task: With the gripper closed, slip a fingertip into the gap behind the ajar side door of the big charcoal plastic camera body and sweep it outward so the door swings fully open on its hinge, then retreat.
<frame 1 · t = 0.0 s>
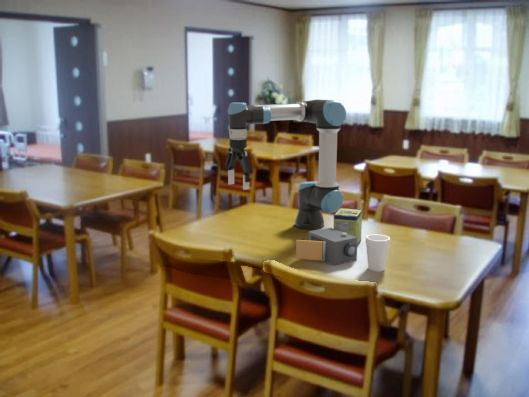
hand: (238, 186, 238), 28 cm above the table, fingers open, 13 cm apart
protein box: (347, 245, 248), on the table
camera body: (331, 256, 231), on the table
side door: (310, 250, 224), point 5 cm above the table, hinge at 45.0°
foam cup: (376, 269, 217), on the table
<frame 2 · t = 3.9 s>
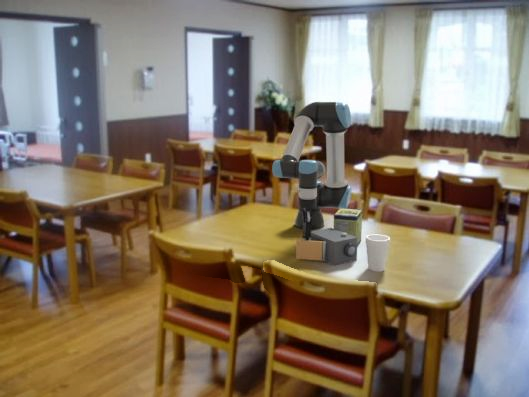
hand: (306, 252, 228), 3 cm above the table, fingers closed
side door: (310, 250, 224), point 5 cm above the table, hinge at 45.0°, touching gripper
everything else where it was.
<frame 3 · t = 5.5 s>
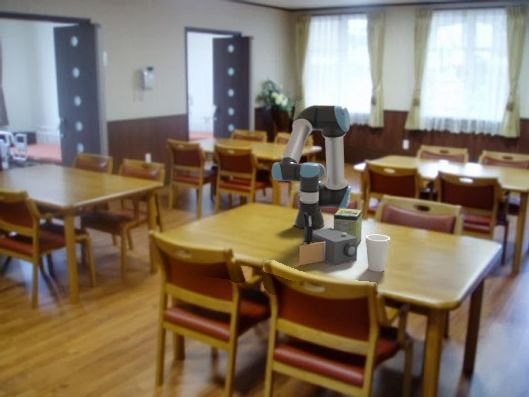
hand: (307, 256, 224), 3 cm above the table, fingers closed
side door: (312, 253, 220), point 5 cm above the table, hinge at 85.7°, touching gripper
everything else where it was.
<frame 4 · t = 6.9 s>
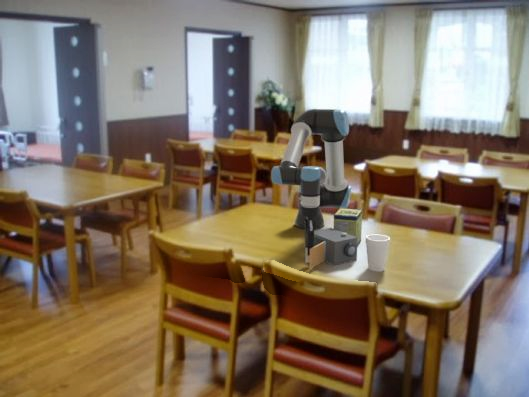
hand: (308, 262, 219), 2 cm above the table, fingers closed
side door: (317, 254, 218), point 5 cm above the table, hinge at 114.6°, touching gripper
everything else where it was.
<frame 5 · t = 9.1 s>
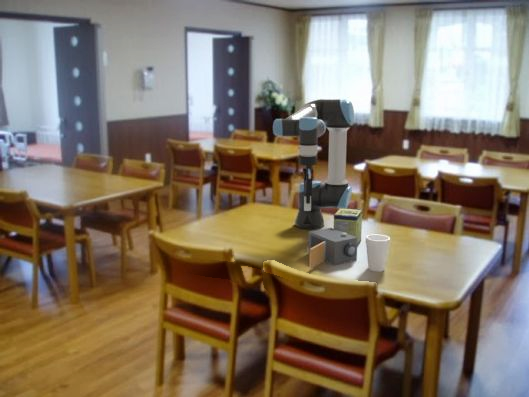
hand: (307, 210, 227), 20 cm above the table, fingers closed
side door: (317, 254, 218), point 5 cm above the table, hinge at 114.6°
everything else where it was.
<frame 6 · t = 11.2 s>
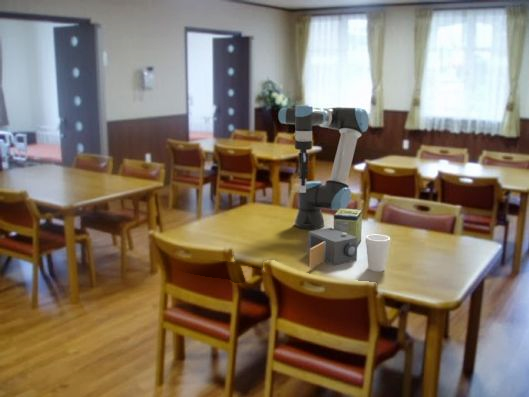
hand: (302, 192, 244), 24 cm above the table, fingers closed
nothing on the table moved.
at the end: side door at +115° (first picture: +45°) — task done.
